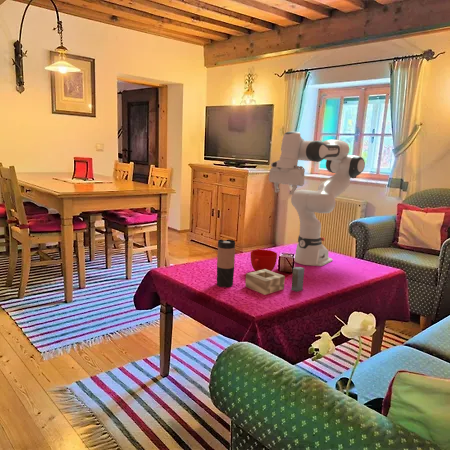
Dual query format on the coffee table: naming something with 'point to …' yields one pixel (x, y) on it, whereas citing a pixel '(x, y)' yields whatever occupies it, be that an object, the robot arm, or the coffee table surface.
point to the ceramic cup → (263, 259)
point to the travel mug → (225, 263)
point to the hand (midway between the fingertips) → (284, 193)
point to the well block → (265, 281)
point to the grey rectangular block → (297, 279)
